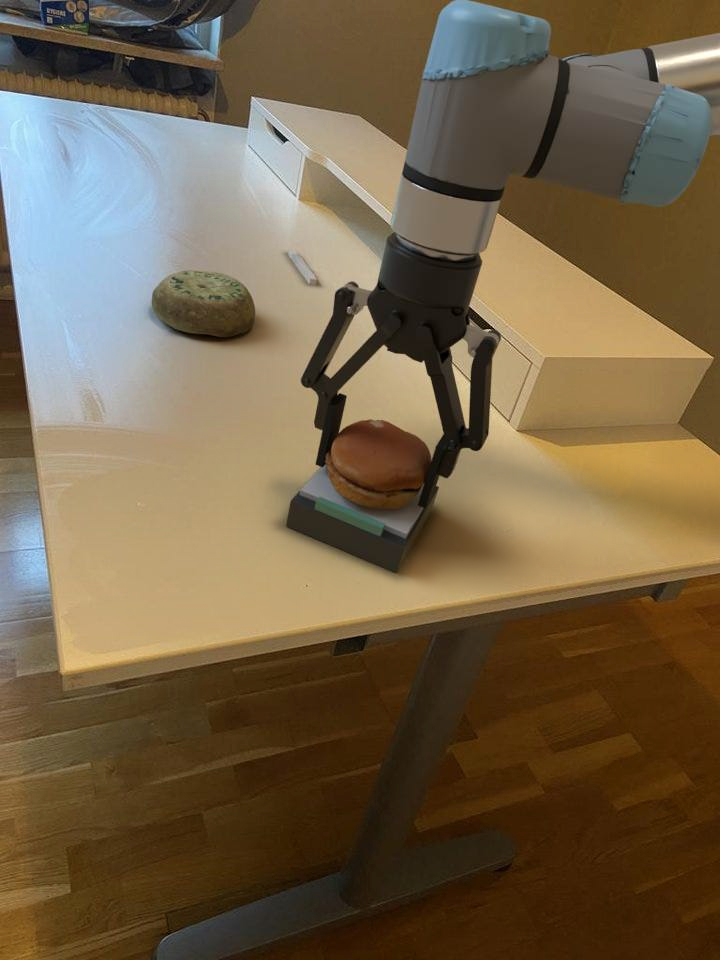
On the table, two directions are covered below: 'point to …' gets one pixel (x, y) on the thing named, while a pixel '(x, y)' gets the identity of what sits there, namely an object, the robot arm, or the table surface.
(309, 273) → the light grey bar
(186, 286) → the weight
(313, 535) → the scale
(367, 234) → the table surface
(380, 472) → the burger
